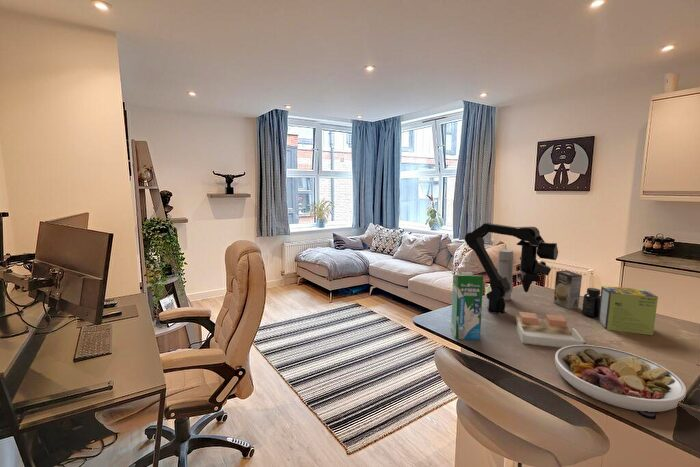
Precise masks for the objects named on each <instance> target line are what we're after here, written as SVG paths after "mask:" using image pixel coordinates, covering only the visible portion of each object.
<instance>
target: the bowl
mask: <svg viewBox="0 0 700 467" xmlns="http://www.w3.org/2000/svg"><path fill="white" fill-rule="evenodd" d="M554 355H555V356H554V357H555V358H554V363H555V366H556V369H557V370H558V373H559V374H560V375H561V376H562V378H563V379H564V380H565V381H566V382H568V384H570V386H572V387H573V388H575V389H576V390H578V391H580V392H582V393H583V394H585V395H587V396H588V397H591V398H593V399H595V400H597V401H600V402H603V403H606V404H609V405H610V406H614V407H618V408H622V409H626V410H630V411H636V412H638V411H639V412H644V411H648V412H649V413H654V412H655V413H657V412H665V411H671V410H673V409H675V408H677V407H678V406H677V404H678V402H679V401H681V400H683V399H684V398H686V395H687V387H686V384H685V383H684V381H682V380H681V378H680V377H679V376H678V375H676V374H675V373H673V372H672V371H671V370H669V369H667V368H666V367H664V366H662V365H660V364H659V363H656V362H654V361H652V360H649V359H648V358H644V357H642V356H639V355H637V354H634V353H631V352H628V351H624V350H620V349H616V348H612V347H606V346H600V345H592V344H586V345H571V346H566V347H563V348H558V350H557V351H556V352H555V354H554ZM684 400H685V399H684ZM684 400H683V401H684Z"/></svg>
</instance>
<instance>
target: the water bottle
mask: <svg viewBox="0 0 700 467" xmlns="http://www.w3.org/2000/svg"><path fill="white" fill-rule="evenodd" d="M515 263H516V261H515V259H514V250H511V249H504V248H503V249H499V250H498V254H497V268H496V270H497V271H498V273H499V275H500V276H501V277H502V278H504V277H506V278H507V280H508V282H509V284H510V292H509V293H508V294H506V296H505V297H503V298H504V301H505V300H506V301H511V298H512V293H513V291H514V290H513V289H514V284H513V283H514V282H513V280H514V279H513V272H514V268H513V267H514V264H515ZM506 301H505V302H506Z"/></svg>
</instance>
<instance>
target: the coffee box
mask: <svg viewBox="0 0 700 467" xmlns="http://www.w3.org/2000/svg"><path fill="white" fill-rule="evenodd" d="M582 280H583V275H582V274H579V273H577V272H572V271H570V270H568V269H567V270H558V271H556V273H555V283H554V284H555V285H554V291H553V292H554V293H553V303H554V304H556V305H558V306H560V307H563V308H564V309H565V308H566V309H568V310H572V309H579V306H580V305H579V304H580V297H581V290H582V288H581V287H582Z"/></svg>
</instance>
